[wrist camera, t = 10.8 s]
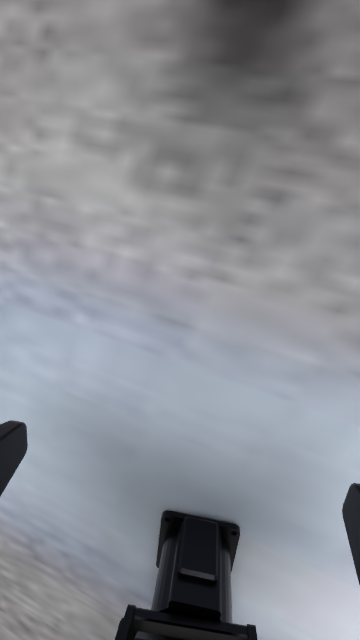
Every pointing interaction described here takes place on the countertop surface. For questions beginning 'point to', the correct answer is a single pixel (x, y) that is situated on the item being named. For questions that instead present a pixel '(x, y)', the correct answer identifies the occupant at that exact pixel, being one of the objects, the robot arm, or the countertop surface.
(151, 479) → the countertop surface
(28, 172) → the countertop surface
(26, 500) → the countertop surface
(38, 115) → the countertop surface
